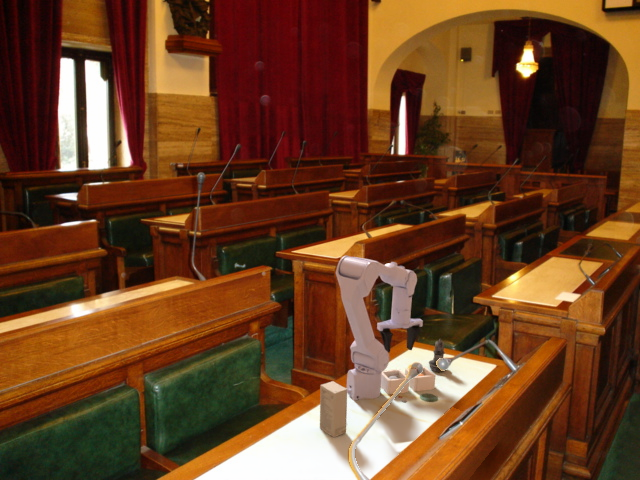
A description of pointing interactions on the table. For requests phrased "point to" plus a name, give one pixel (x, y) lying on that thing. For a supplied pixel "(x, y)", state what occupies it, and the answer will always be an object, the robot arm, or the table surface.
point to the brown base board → (424, 398)
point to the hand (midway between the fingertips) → (398, 350)
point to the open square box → (393, 381)
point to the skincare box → (333, 408)
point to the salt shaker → (437, 355)
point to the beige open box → (422, 380)
